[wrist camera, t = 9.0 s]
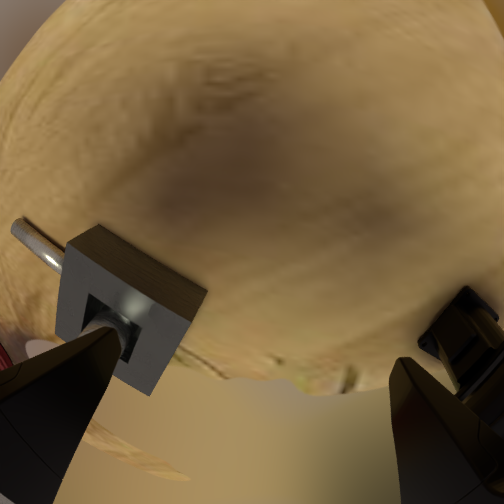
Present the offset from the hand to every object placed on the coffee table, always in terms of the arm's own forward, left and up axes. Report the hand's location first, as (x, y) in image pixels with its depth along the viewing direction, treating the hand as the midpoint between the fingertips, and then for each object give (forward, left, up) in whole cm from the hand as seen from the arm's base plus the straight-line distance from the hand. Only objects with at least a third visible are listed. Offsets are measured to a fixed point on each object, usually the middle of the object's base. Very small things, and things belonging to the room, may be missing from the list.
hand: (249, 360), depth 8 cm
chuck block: (+11, +11, -12) cm, 20 cm away
